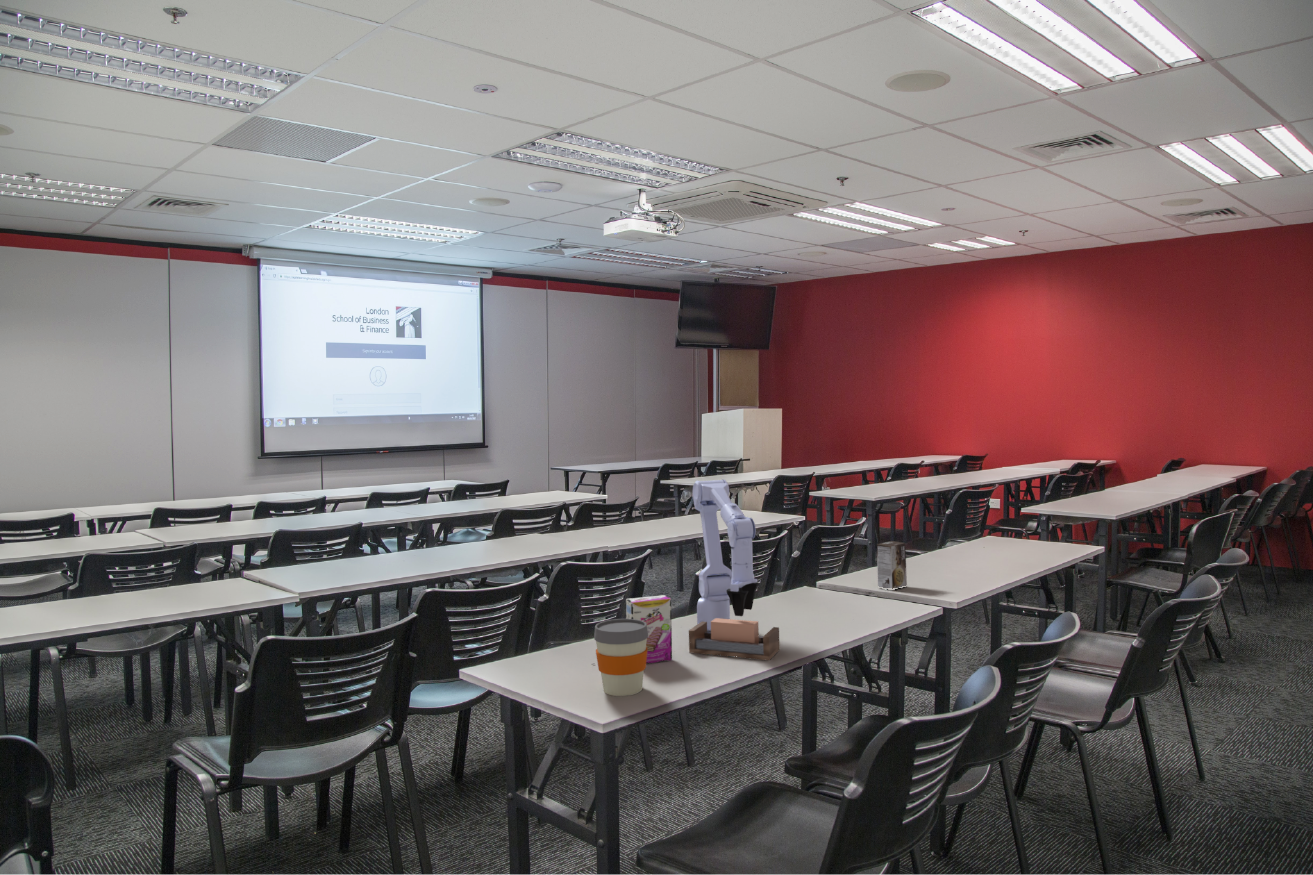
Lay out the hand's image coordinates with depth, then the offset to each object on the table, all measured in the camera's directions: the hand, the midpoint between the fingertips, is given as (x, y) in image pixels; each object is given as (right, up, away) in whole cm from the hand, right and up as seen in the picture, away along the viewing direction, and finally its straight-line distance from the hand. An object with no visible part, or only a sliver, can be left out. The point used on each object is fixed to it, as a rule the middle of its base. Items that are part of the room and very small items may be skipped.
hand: (743, 612), depth 217 cm
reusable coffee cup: (-31, -11, -32) cm, 46 cm away
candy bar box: (-25, -11, -11) cm, 29 cm away
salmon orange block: (-3, -8, -4) cm, 10 cm away
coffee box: (+61, -7, +68) cm, 92 cm away
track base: (-3, -10, -4) cm, 11 cm away
